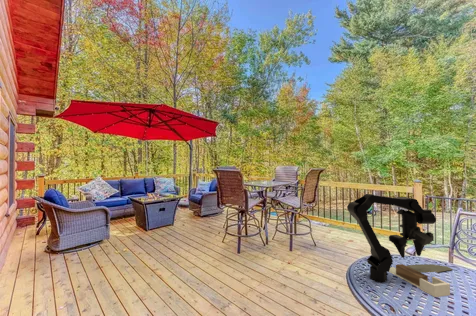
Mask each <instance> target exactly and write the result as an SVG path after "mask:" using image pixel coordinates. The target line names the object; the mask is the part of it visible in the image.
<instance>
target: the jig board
mask: <svg viewBox="0 0 476 316" xmlns="http://www.w3.org/2000/svg"><path fill="white" fill-rule="evenodd" d="M388 273H390V274H393V275H394V276H396V277H398V278H400V279H402V280H403V281H405V282H407V283H408V284H411V285H413V286H414V287H417V288H418V289H420V286H418V285H416V284H414V283H412V282H410V281H408V280H406V279H405V278H403V277H401V276H399V275H397V274H396V267H394V266H392V267H390V270H389V272H388ZM446 296H448V295H446ZM446 296H445V297H446Z"/></svg>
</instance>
